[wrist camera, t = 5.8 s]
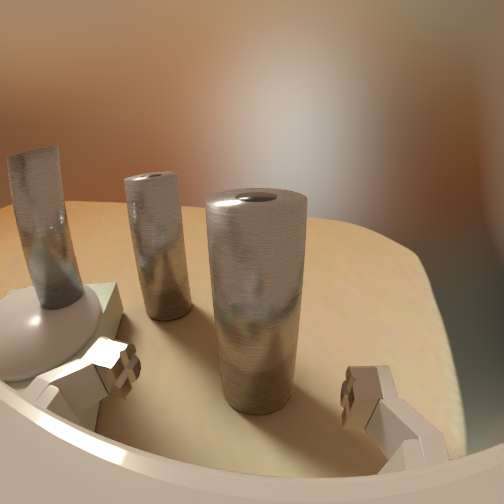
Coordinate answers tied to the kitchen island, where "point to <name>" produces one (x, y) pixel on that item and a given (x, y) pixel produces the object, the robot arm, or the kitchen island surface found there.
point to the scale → (54, 334)
